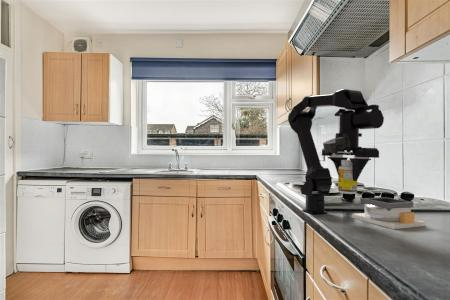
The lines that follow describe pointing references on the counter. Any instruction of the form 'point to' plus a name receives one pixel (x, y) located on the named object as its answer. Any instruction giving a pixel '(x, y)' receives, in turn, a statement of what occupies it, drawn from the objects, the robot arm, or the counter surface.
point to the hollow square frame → (388, 210)
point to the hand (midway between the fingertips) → (347, 180)
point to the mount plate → (389, 224)
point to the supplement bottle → (346, 178)
